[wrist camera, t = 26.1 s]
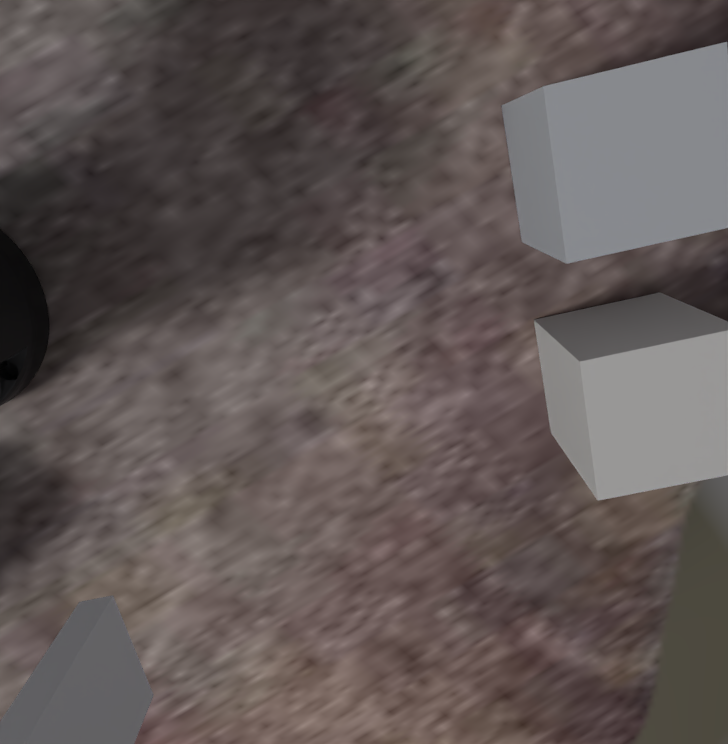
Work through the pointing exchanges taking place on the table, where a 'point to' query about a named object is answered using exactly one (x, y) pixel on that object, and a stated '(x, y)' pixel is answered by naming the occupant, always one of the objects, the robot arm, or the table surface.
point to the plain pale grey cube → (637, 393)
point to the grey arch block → (622, 156)
